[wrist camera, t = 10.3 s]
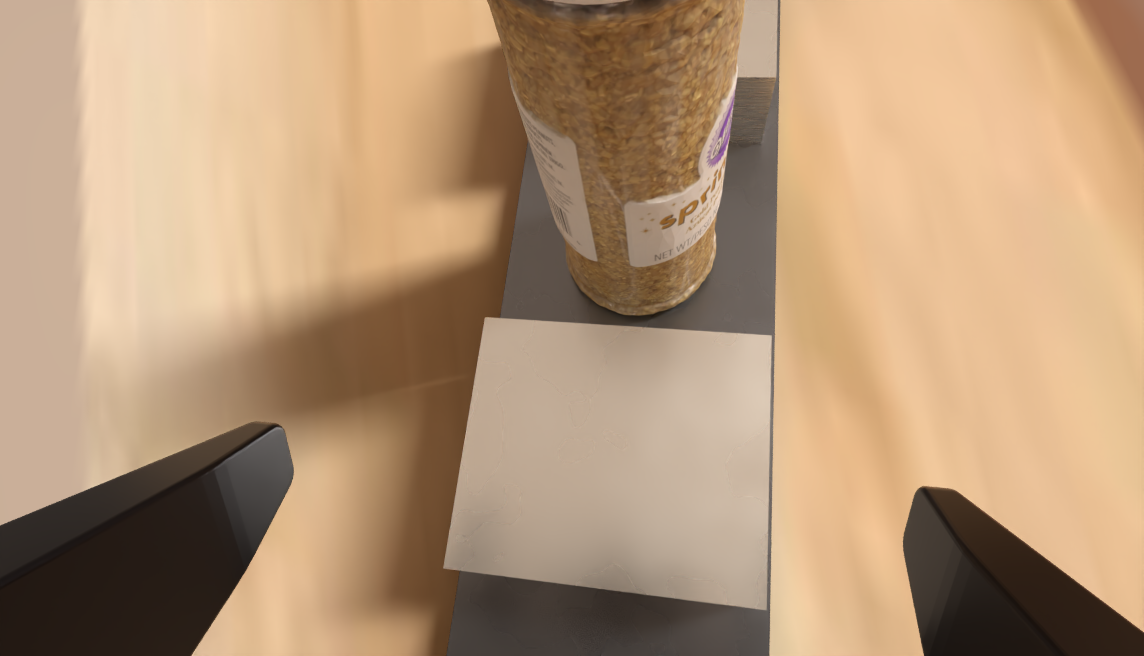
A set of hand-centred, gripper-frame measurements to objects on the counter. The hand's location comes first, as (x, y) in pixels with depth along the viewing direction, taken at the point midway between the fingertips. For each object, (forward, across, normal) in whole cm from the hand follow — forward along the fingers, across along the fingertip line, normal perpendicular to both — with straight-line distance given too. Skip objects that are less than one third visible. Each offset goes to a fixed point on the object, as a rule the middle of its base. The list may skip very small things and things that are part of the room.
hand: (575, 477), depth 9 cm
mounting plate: (+13, 0, +1) cm, 13 cm away
